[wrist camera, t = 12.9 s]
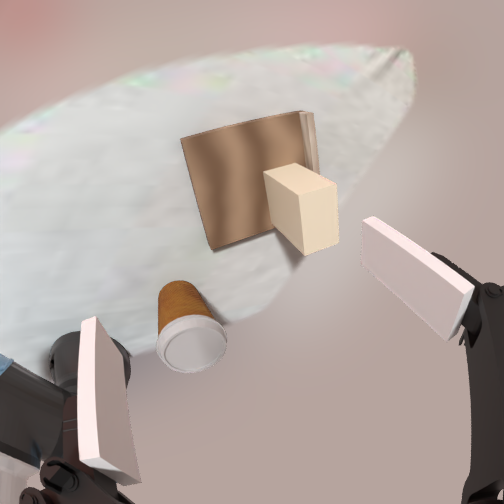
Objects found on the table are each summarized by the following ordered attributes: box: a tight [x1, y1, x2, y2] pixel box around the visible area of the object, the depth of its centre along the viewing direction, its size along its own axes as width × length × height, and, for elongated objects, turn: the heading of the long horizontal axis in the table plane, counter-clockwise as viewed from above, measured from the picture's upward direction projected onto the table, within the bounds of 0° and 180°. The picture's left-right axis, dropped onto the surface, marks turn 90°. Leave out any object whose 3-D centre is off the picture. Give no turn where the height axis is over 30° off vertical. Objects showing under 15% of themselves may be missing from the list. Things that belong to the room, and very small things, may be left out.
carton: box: [263, 163, 339, 256], centre depth 40 cm, size 8×5×10 cm, turn 11°
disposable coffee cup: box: [156, 281, 227, 373], centre depth 43 cm, size 10×10×12 cm
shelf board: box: [180, 111, 320, 250], centre depth 41 cm, size 17×16×4 cm
